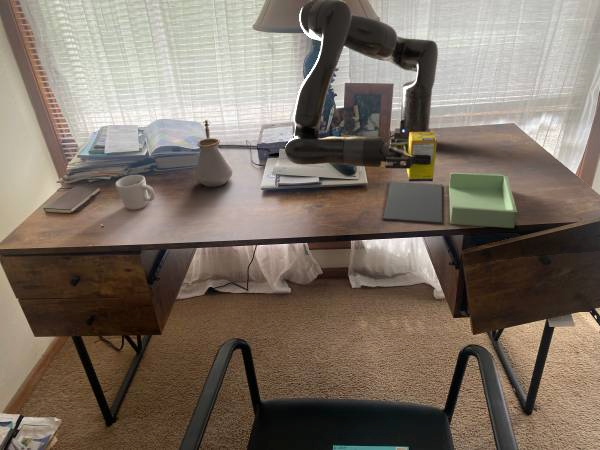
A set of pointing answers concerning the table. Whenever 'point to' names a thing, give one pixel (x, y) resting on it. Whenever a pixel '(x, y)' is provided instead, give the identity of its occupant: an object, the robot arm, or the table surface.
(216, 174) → the coffee pot
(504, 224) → the desk tray
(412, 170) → the supplement box
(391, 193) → the grey mat
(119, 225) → the table surface
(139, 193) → the cup
